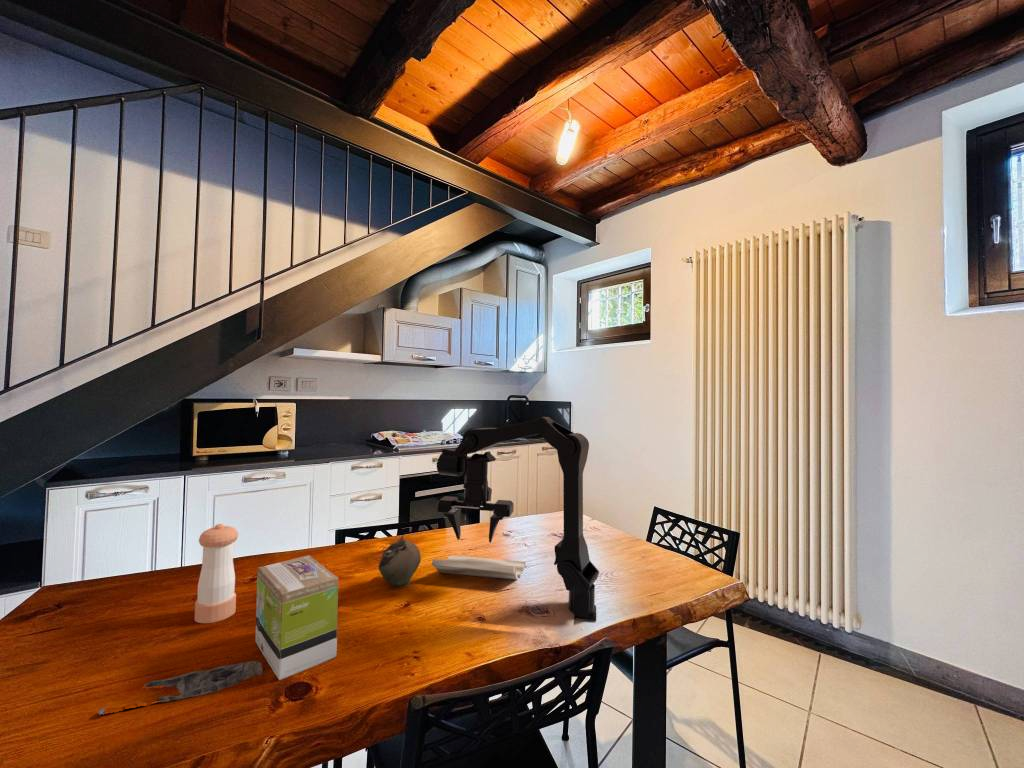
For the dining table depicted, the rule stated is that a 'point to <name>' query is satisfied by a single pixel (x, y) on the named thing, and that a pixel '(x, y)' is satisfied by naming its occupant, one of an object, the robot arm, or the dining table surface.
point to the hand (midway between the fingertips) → (474, 540)
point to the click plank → (475, 569)
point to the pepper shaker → (216, 575)
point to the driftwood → (207, 680)
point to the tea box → (296, 615)
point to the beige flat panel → (490, 562)
